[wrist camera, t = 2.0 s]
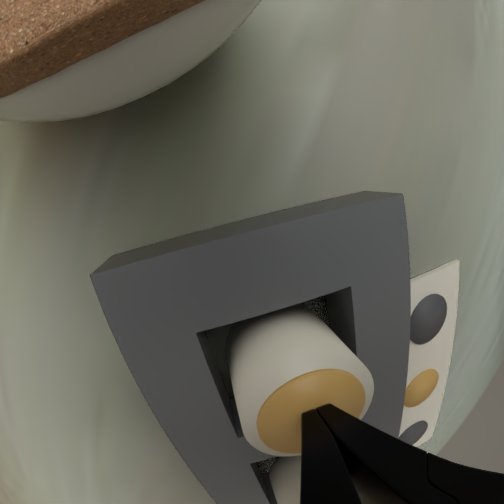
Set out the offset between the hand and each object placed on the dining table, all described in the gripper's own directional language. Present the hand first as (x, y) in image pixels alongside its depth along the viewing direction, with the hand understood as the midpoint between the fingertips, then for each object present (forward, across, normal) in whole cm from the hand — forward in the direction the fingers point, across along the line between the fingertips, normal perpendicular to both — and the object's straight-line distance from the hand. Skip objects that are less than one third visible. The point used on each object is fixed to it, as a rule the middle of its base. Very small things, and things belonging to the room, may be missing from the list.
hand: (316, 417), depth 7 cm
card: (+5, -8, +7) cm, 12 cm away
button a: (+4, 0, 0) cm, 4 cm away
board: (+5, 0, +7) cm, 8 cm away
